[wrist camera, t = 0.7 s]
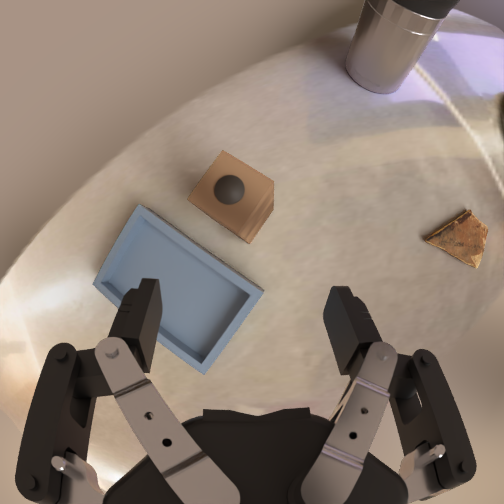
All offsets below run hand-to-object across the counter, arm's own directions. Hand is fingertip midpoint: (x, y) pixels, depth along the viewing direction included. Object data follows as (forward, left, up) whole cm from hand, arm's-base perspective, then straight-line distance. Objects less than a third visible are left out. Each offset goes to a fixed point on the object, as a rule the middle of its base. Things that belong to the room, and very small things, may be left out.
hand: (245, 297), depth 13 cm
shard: (-19, +21, -21) cm, 36 cm away
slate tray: (+7, -8, -21) cm, 23 cm away
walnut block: (-5, -6, -21) cm, 22 cm away
